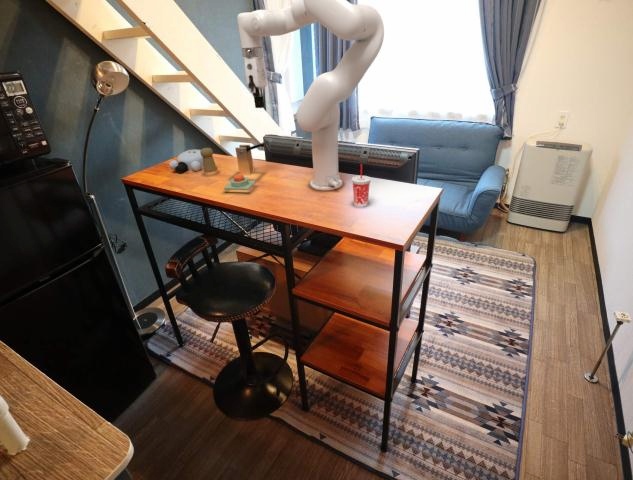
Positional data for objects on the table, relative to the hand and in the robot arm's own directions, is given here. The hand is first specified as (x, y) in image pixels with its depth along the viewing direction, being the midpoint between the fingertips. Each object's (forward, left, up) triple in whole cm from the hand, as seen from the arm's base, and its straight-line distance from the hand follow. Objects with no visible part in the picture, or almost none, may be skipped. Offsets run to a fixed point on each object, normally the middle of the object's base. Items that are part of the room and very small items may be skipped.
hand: (259, 107), depth 133 cm
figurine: (+30, +24, -27) cm, 47 cm away
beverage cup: (-48, -11, -27) cm, 56 cm away
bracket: (+4, +8, -27) cm, 29 cm away
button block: (-8, +16, -27) cm, 32 cm away
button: (-8, +16, -24) cm, 30 cm away
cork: (+19, +19, -27) cm, 38 cm away
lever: (+1, +5, -16) cm, 17 cm away
